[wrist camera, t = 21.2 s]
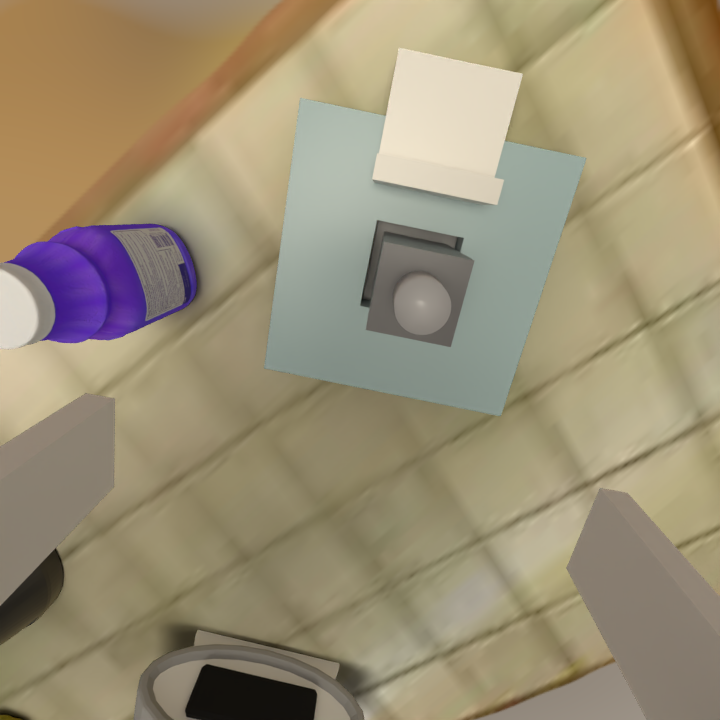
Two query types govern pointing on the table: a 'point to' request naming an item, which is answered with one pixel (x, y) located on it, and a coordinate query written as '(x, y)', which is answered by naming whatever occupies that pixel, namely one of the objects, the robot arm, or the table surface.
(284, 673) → the alarm clock
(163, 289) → the bottle
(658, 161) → the table surface
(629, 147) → the table surface
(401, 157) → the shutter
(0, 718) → the apple
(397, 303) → the plug
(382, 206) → the socket plate
